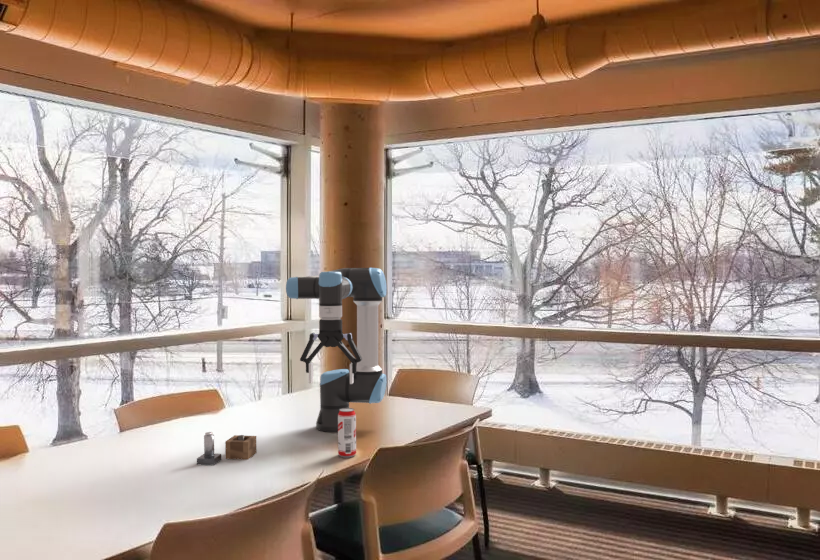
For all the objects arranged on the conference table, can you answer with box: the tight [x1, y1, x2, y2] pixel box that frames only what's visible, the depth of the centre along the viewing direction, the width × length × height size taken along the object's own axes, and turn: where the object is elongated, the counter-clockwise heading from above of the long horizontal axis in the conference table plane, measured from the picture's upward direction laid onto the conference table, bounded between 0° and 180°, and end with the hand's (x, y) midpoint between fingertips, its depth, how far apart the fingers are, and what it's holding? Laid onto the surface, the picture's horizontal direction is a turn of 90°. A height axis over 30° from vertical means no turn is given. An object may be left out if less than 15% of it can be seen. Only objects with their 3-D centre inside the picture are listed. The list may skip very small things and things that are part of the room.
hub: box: [196, 431, 223, 466], centre depth 219 cm, size 6×6×10 cm
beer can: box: [337, 407, 357, 459], centre depth 225 cm, size 6×6×16 cm
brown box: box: [224, 434, 258, 461], centre depth 226 cm, size 8×8×6 cm
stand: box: [238, 434, 245, 441], centre depth 226 cm, size 4×4×7 cm
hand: (331, 383), depth 215 cm, fingers open, 13 cm apart
